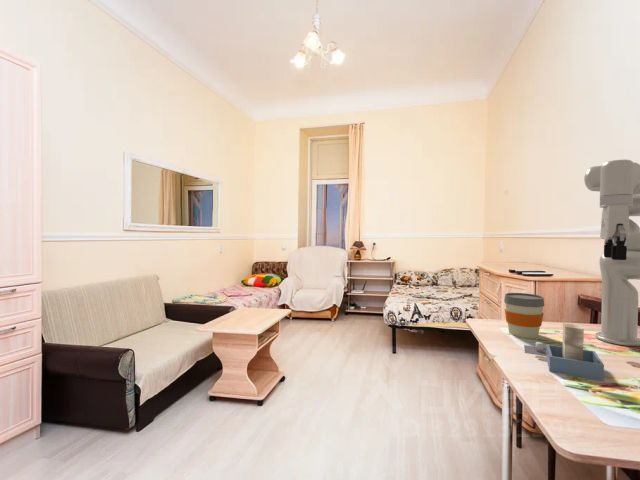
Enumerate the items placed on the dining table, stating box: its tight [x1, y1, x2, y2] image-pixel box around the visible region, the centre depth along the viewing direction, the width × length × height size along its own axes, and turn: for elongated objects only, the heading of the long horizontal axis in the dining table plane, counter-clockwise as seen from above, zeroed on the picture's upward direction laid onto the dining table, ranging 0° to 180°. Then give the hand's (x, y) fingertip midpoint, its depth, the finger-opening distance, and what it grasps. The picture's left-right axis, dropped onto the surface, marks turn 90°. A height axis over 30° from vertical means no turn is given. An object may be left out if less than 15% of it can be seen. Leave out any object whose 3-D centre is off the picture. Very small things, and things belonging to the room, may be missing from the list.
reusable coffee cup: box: [503, 292, 545, 339], centre depth 122 cm, size 13×13×15 cm
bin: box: [545, 343, 605, 382], centre depth 91 cm, size 11×11×5 cm
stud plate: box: [523, 341, 546, 357], centre depth 104 cm, size 8×8×4 cm
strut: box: [562, 323, 585, 361], centre depth 91 cm, size 4×4×12 cm
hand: (614, 258), depth 101 cm, fingers open, 9 cm apart
